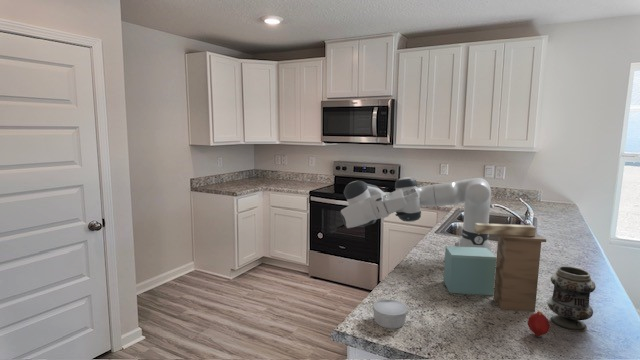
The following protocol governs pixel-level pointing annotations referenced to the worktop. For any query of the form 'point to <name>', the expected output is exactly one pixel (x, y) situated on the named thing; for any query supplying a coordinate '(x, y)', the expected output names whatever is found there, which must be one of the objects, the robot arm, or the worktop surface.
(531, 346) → the worktop surface
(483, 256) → the low block
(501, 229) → the rod
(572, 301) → the apothecary jar
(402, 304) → the ramekin
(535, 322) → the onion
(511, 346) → the worktop surface
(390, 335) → the worktop surface
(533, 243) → the tall stand
